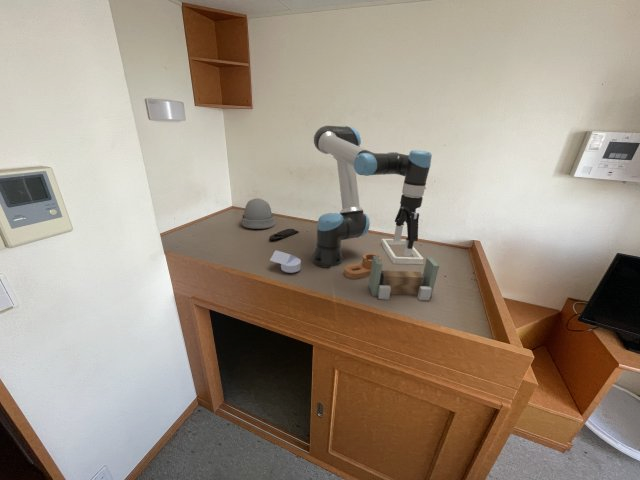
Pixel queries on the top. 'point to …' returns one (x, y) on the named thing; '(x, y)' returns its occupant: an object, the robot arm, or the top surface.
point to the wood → (283, 234)
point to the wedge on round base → (286, 261)
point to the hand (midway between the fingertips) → (401, 247)
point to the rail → (402, 281)
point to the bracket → (360, 267)
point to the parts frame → (401, 260)
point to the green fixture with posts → (384, 290)
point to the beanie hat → (257, 215)
